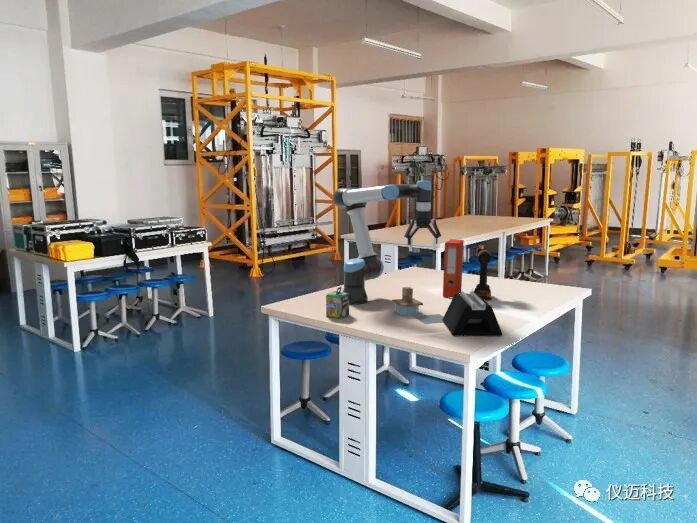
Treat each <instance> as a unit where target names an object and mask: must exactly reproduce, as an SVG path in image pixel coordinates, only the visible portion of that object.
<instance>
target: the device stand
mask: <svg viewBox="0 0 697 523" xmlns="http://www.w3.org/2000/svg"><path fill="white" fill-rule="evenodd" d="M473 291H474V290H471V291H470V292H469V295H471V296H468V295H467V294H466V293H465V291H462V290H461V293H460V294H455V295H454V297H453V298H451V301H450V303H449V305H448V307H447V310H446V312H445V314H444V315H443V316H444V317H443V319H442V320H443V322H444V323H443V324H444V325H445V326H446V328H447V329H448V331H449V332H450V334H451V335H452V336H453V337H502V336H503V332H502V329H501V327H500V324H499V322H498V318H497V316H496V314H495V312H494V309H493V306H492V305H490V304H489V303H488V302H487V300H484V299H483V298H482V297H480V296H479V295H478V294H475V293H474V292H473Z"/></svg>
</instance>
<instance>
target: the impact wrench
mask: <svg viewBox="0 0 697 523" xmlns="http://www.w3.org/2000/svg"><path fill="white" fill-rule="evenodd" d="M477 259H478V262H479V264H480V267H479V280H478V281H479V283H478V284H476V286H475V287H474V290H472V291H473V292H474V293H475V294H478V295H479V296H480V297H482V298H483V299H490V300H491V299H492V290H491V287H490V285H489V284H488V264H489V263H490V262H491V261H492V253H491V252H490V251H489V250H487V249H482V250H480V251H479V252H478V253H477Z"/></svg>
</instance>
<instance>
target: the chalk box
mask: <svg viewBox="0 0 697 523" xmlns="http://www.w3.org/2000/svg"><path fill="white" fill-rule="evenodd" d="M336 288H337V289H336V290H333V291H330V292H329V293H327V294H326V295H325V305H326V306H325V312H326V314H325V317H329V318H335V319H336V318H338V319H341V318H342V319H343V318H345V317H347V316H350V304H349V294H350V293H346V292H343V291H342V288H343V287H342V286H339V287H336Z"/></svg>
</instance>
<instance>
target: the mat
mask: <svg viewBox="0 0 697 523" xmlns="http://www.w3.org/2000/svg"><path fill="white" fill-rule="evenodd" d="M411 316H412V318H414V319H416V320H418V321H420V323H423V324H424V325H431V324H440V323H441V324H442V323H443V324H445V323H444V322H443V320H442V319H443V317H444V315H441V314H440V313H438V314H423V315H411Z"/></svg>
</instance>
